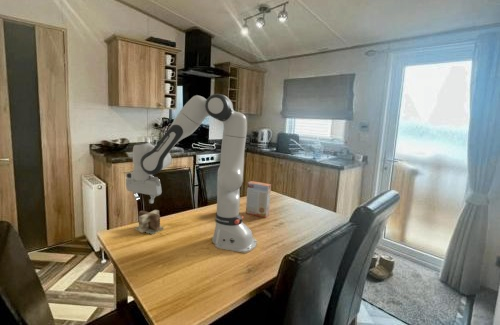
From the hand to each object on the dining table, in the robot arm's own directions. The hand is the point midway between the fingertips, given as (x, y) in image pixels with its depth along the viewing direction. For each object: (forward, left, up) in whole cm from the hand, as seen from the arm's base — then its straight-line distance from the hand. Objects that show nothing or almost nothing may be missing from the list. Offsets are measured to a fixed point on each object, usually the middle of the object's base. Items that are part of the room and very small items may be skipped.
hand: (144, 201), depth 136 cm
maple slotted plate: (0, -4, -16) cm, 16 cm away
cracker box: (-41, -55, -17) cm, 70 cm away
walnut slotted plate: (0, -4, -17) cm, 17 cm away
